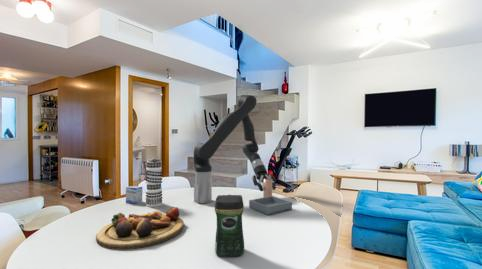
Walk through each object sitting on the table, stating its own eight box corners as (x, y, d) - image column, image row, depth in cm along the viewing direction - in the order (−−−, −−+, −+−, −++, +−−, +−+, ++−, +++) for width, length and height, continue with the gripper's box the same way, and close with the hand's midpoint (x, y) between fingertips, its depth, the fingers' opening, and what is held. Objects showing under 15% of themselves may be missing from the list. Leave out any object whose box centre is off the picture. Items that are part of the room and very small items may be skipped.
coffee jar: (243, 246, 84) (243, 192, 84) (244, 258, 76) (244, 198, 76) (215, 246, 84) (215, 192, 84) (213, 258, 76) (213, 198, 76)
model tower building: (144, 203, 136) (144, 158, 136) (161, 201, 140) (161, 157, 140) (145, 207, 128) (145, 159, 128) (163, 205, 132) (163, 159, 132)
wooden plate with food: (179, 214, 118) (178, 197, 118) (189, 240, 88) (188, 217, 88) (104, 224, 107) (103, 205, 107) (86, 258, 77) (86, 232, 77)
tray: (268, 215, 115) (268, 207, 115) (249, 207, 128) (249, 200, 128) (291, 209, 124) (291, 201, 124) (272, 202, 137) (272, 195, 137)
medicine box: (125, 202, 137) (125, 187, 137) (131, 200, 142) (131, 185, 142) (137, 203, 135) (137, 188, 135) (142, 201, 139) (142, 186, 139)
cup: (267, 201, 141) (267, 180, 140) (261, 199, 145) (261, 178, 145) (274, 199, 144) (273, 179, 143) (268, 197, 148) (268, 177, 148)
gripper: (250, 164, 148) (260, 187, 138) (270, 163, 154) (281, 185, 144) (247, 172, 153) (255, 194, 143) (266, 170, 159) (276, 192, 149)
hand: (268, 190), depth 143 cm, fingers open, 8 cm apart
